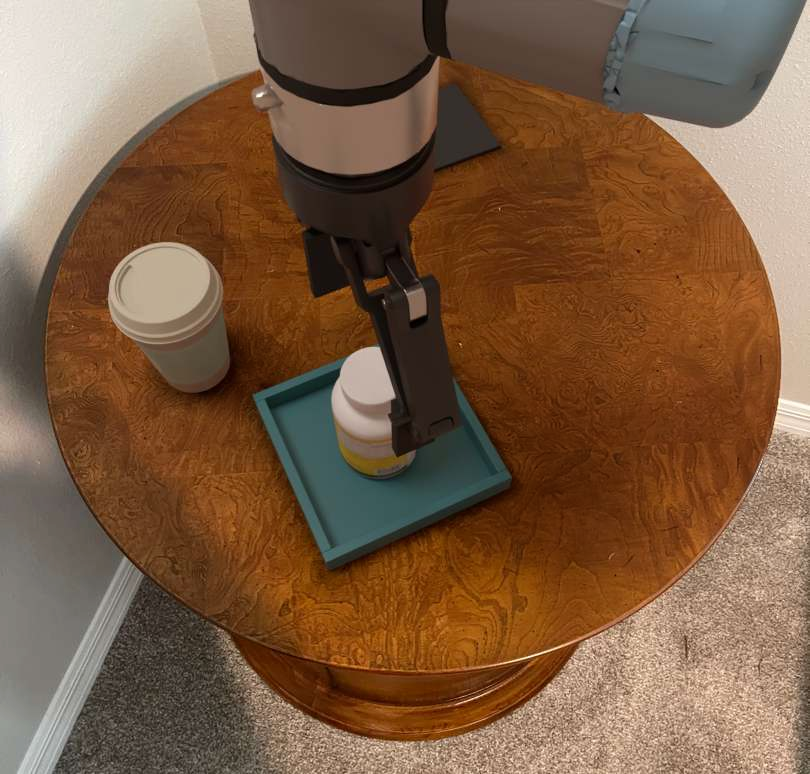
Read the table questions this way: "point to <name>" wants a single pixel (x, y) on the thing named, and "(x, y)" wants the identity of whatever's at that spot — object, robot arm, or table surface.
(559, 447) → the table surface
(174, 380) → the coffee cup
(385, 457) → the pill bottle
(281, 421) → the tray
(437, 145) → the mat
